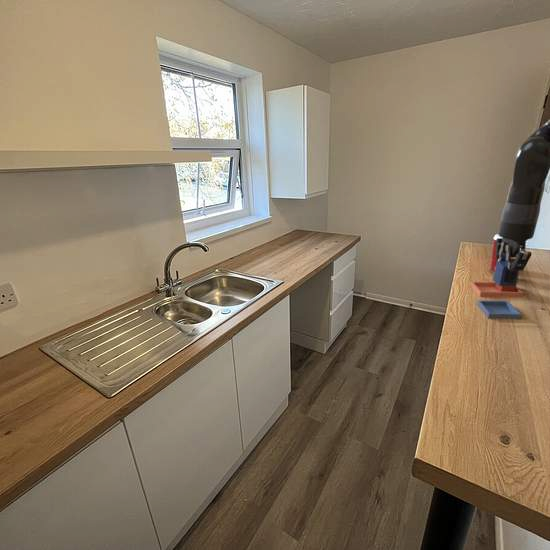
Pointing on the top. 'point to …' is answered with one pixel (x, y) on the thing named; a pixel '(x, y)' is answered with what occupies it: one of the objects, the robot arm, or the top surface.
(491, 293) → the terracotta tray
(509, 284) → the slate pillar
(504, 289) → the terracotta pillar
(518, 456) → the top surface
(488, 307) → the slate tray
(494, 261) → the paper cup
